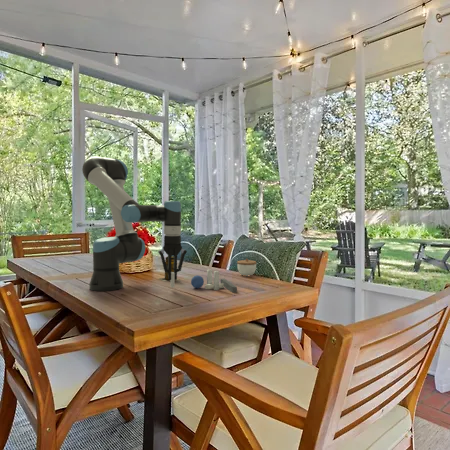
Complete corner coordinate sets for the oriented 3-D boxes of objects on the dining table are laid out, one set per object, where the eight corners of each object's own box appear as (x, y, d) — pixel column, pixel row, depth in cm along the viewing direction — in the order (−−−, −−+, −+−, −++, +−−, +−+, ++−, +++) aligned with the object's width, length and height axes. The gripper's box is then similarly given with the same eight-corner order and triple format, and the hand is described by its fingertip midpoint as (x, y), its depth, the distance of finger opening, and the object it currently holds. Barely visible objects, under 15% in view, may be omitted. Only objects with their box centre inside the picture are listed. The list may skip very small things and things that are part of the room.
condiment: (179, 279, 196) (179, 257, 196) (164, 281, 192) (164, 258, 191) (173, 277, 203) (173, 255, 202) (158, 279, 198) (158, 256, 197)
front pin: (206, 285, 174) (223, 284, 176) (205, 283, 176) (222, 282, 178) (206, 290, 174) (223, 289, 176) (204, 288, 176) (222, 287, 179)
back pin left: (207, 288, 177) (207, 270, 176) (206, 287, 179) (206, 269, 179) (212, 288, 177) (212, 270, 177) (211, 287, 180) (211, 269, 179)
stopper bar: (232, 292, 168) (232, 287, 168) (220, 283, 187) (220, 278, 187) (236, 292, 169) (236, 287, 169) (224, 283, 188) (224, 278, 188)
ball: (206, 286, 174) (194, 284, 172) (200, 290, 179) (188, 289, 176) (205, 274, 177) (194, 272, 175) (200, 279, 182) (189, 277, 179)
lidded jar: (240, 277, 205) (240, 260, 204) (234, 273, 215) (234, 257, 215) (258, 276, 208) (259, 259, 207) (252, 273, 218) (252, 257, 217)
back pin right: (214, 290, 172) (214, 272, 172) (213, 289, 175) (213, 271, 174) (219, 290, 173) (219, 271, 173) (218, 289, 175) (218, 271, 175)
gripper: (158, 236, 164) (158, 289, 165) (188, 235, 168) (188, 287, 169) (157, 234, 171) (157, 285, 172) (185, 234, 175) (185, 284, 176)
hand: (172, 286), depth 171 cm, fingers closed
